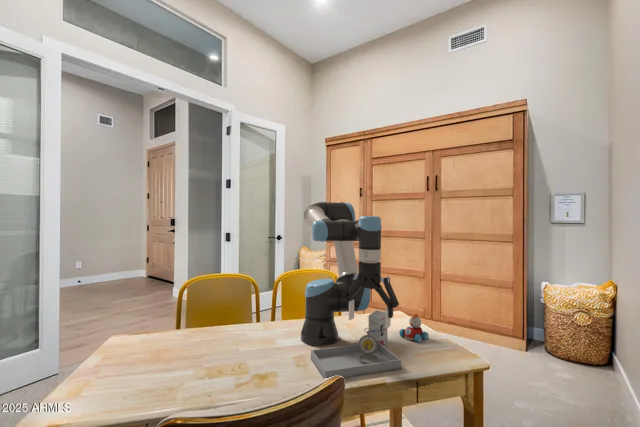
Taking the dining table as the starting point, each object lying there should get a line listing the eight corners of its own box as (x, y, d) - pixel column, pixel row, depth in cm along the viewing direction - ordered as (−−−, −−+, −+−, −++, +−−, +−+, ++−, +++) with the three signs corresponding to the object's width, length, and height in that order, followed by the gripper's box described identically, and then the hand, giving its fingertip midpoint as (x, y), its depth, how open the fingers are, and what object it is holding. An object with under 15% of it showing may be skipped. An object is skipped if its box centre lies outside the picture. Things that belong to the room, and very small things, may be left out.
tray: (325, 381, 96) (325, 371, 97) (310, 358, 112) (310, 350, 112) (401, 369, 104) (401, 359, 104) (377, 349, 120) (377, 341, 120)
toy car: (397, 337, 132) (397, 312, 133) (411, 332, 138) (411, 309, 138) (416, 344, 125) (416, 318, 125) (429, 339, 131) (429, 314, 131)
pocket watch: (367, 367, 104) (367, 336, 104) (352, 357, 111) (352, 328, 111) (386, 361, 108) (386, 332, 108) (370, 352, 116) (370, 324, 116)
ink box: (379, 349, 120) (379, 317, 120) (367, 346, 122) (367, 315, 123) (387, 341, 127) (388, 311, 127) (376, 339, 130) (376, 309, 130)
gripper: (332, 259, 114) (332, 318, 114) (401, 266, 100) (400, 334, 100) (343, 256, 120) (342, 313, 120) (409, 263, 106) (408, 327, 107)
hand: (369, 322), depth 110 cm, fingers open, 13 cm apart
